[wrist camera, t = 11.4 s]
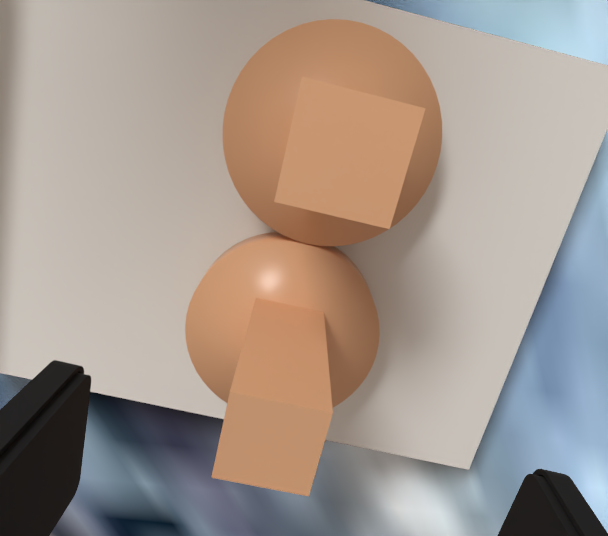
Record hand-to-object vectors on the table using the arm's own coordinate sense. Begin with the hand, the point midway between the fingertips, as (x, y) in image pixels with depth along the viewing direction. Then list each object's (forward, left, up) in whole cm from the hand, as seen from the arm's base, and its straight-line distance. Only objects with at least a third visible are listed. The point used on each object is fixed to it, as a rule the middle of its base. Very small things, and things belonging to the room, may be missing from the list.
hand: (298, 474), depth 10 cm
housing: (+3, -3, -11) cm, 12 cm away
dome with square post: (+1, 0, -11) cm, 11 cm away
